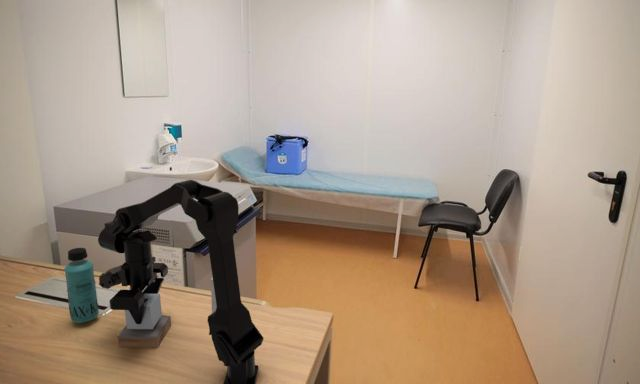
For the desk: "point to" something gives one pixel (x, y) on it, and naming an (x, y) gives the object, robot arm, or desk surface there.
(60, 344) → the desk surface
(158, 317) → the cube
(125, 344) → the base
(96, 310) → the beverage bottle
